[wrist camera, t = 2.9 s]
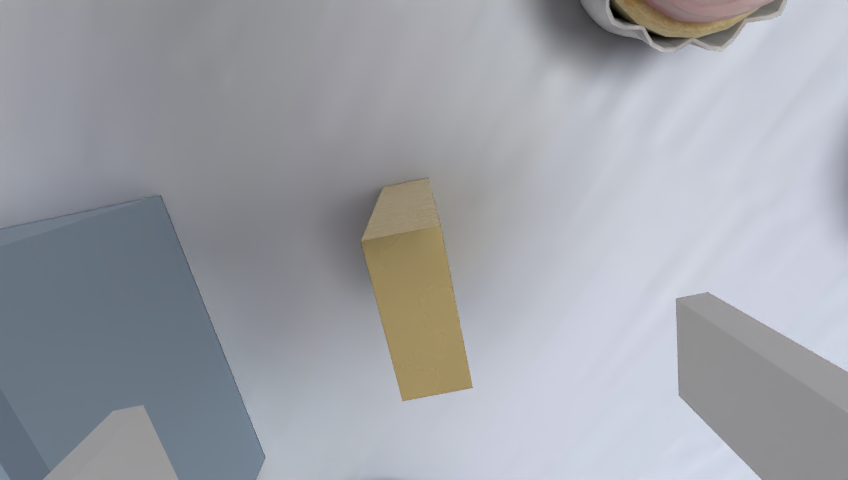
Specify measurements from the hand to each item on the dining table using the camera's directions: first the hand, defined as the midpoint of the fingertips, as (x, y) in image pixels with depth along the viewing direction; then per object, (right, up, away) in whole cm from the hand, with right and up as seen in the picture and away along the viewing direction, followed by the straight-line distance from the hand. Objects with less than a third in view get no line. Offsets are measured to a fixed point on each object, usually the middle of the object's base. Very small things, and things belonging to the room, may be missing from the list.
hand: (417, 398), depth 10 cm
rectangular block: (0, +4, +13) cm, 14 cm away
